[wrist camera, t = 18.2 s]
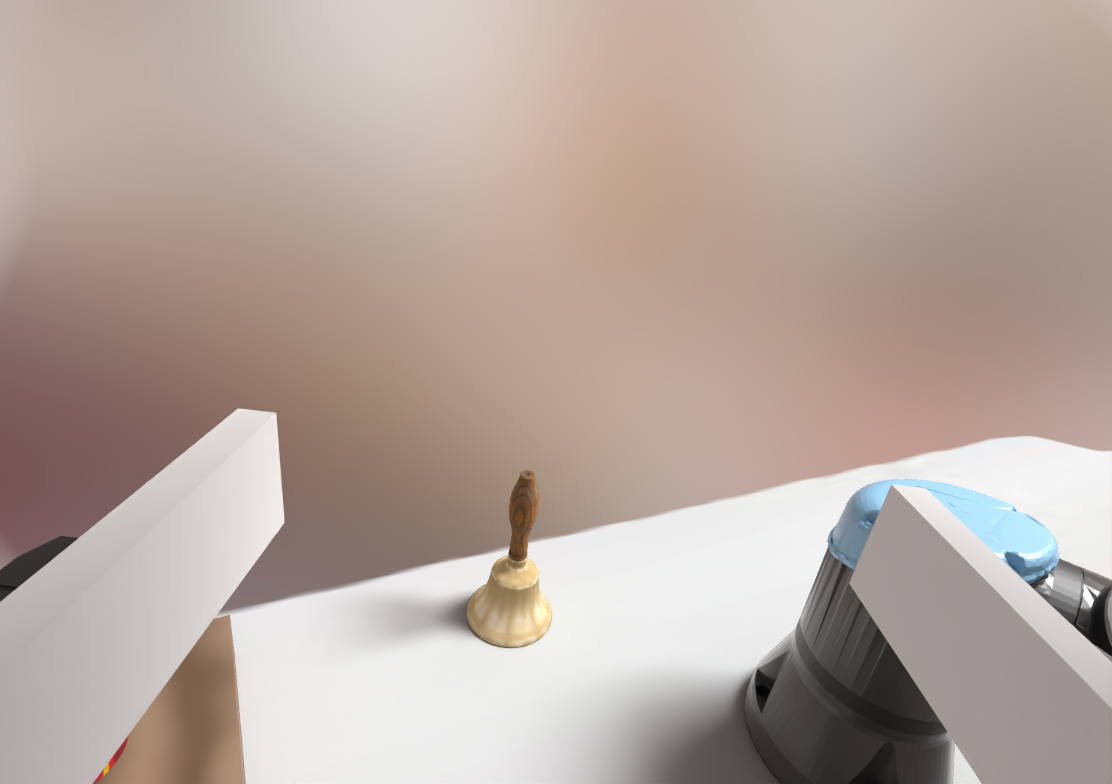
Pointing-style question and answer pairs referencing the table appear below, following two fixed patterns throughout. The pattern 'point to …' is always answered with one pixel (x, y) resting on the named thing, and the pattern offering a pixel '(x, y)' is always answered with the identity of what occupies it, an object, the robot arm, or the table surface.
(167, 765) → the podium
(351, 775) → the table surface
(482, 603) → the hand bell
